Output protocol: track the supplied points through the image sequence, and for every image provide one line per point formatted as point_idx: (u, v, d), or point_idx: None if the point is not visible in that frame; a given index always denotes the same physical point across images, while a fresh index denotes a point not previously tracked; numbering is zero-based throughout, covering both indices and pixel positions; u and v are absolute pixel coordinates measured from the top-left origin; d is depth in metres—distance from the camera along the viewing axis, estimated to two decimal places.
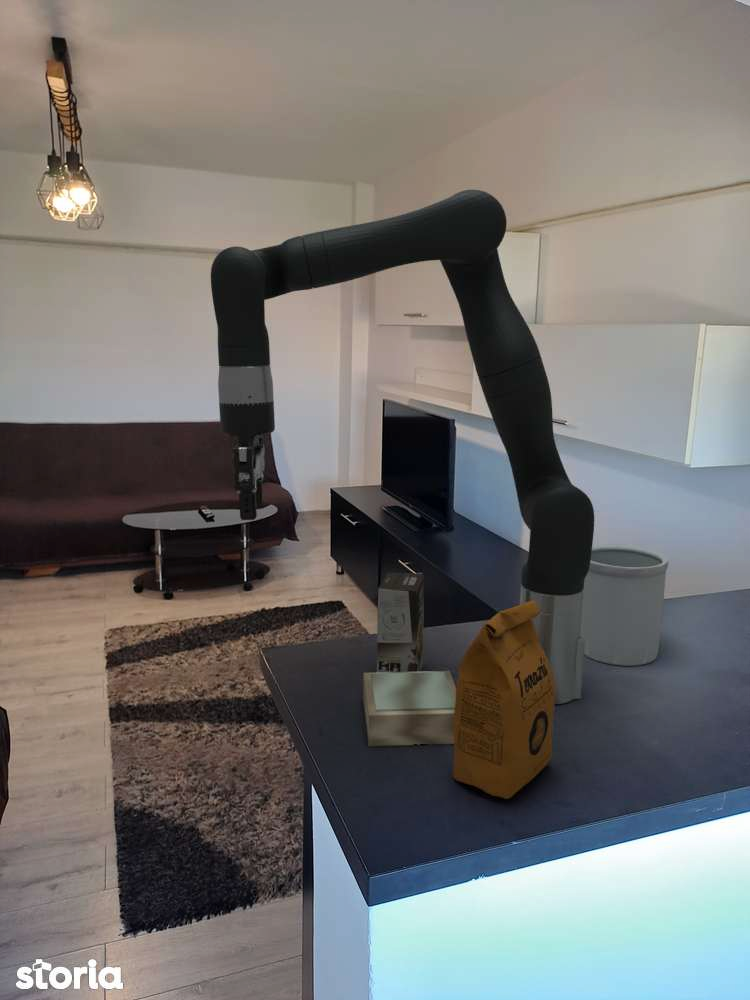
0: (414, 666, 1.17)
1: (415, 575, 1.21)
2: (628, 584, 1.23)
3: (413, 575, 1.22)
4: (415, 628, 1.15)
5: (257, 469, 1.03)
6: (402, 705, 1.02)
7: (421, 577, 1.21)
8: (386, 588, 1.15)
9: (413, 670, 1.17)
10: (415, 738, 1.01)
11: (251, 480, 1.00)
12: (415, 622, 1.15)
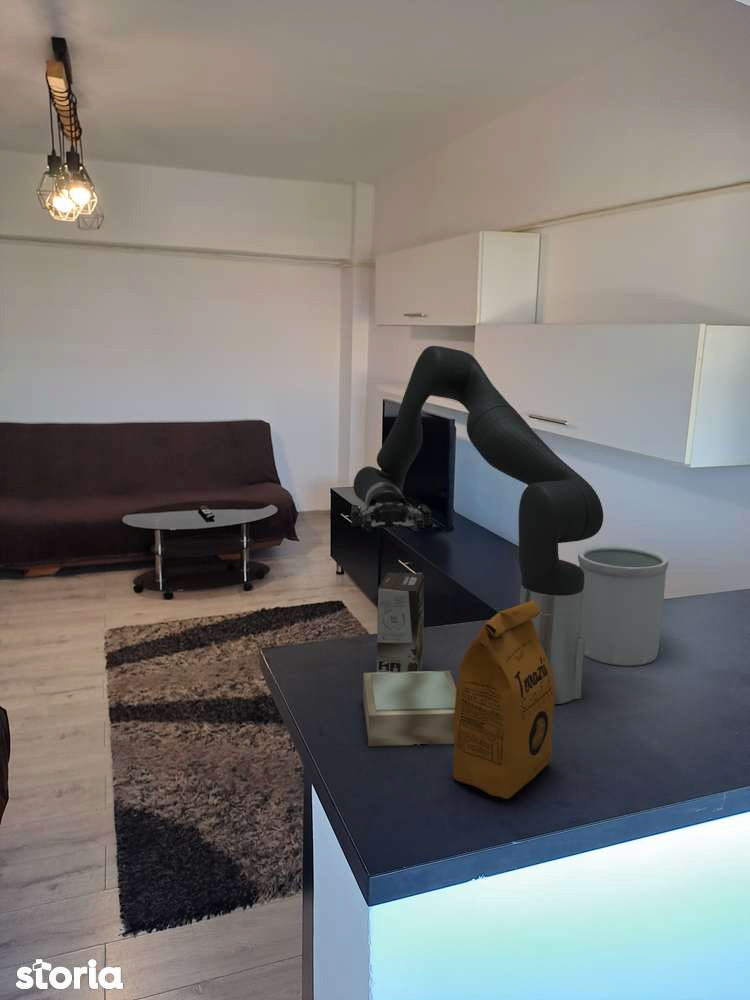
0: (414, 666, 1.17)
1: (415, 575, 1.21)
2: (628, 584, 1.23)
3: (413, 575, 1.22)
4: (415, 628, 1.15)
5: None
6: (402, 705, 1.02)
7: (421, 577, 1.21)
8: (386, 588, 1.15)
9: (413, 670, 1.17)
10: (415, 738, 1.01)
11: (351, 512, 1.34)
12: (415, 622, 1.15)
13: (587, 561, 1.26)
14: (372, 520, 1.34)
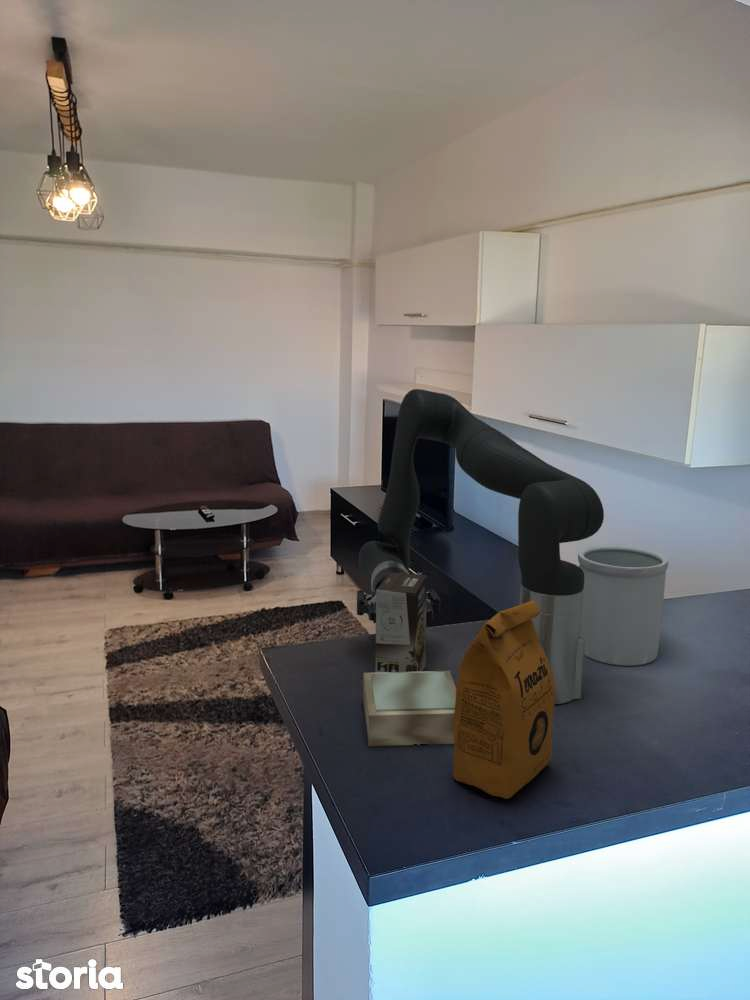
0: (412, 668, 1.16)
1: (417, 576, 1.20)
2: (628, 584, 1.23)
3: (415, 576, 1.20)
4: (413, 630, 1.14)
5: None
6: (402, 705, 1.02)
7: (423, 578, 1.19)
8: (384, 589, 1.14)
9: None
10: (415, 738, 1.01)
11: (357, 600, 1.27)
12: (413, 624, 1.14)
13: (587, 561, 1.26)
14: None
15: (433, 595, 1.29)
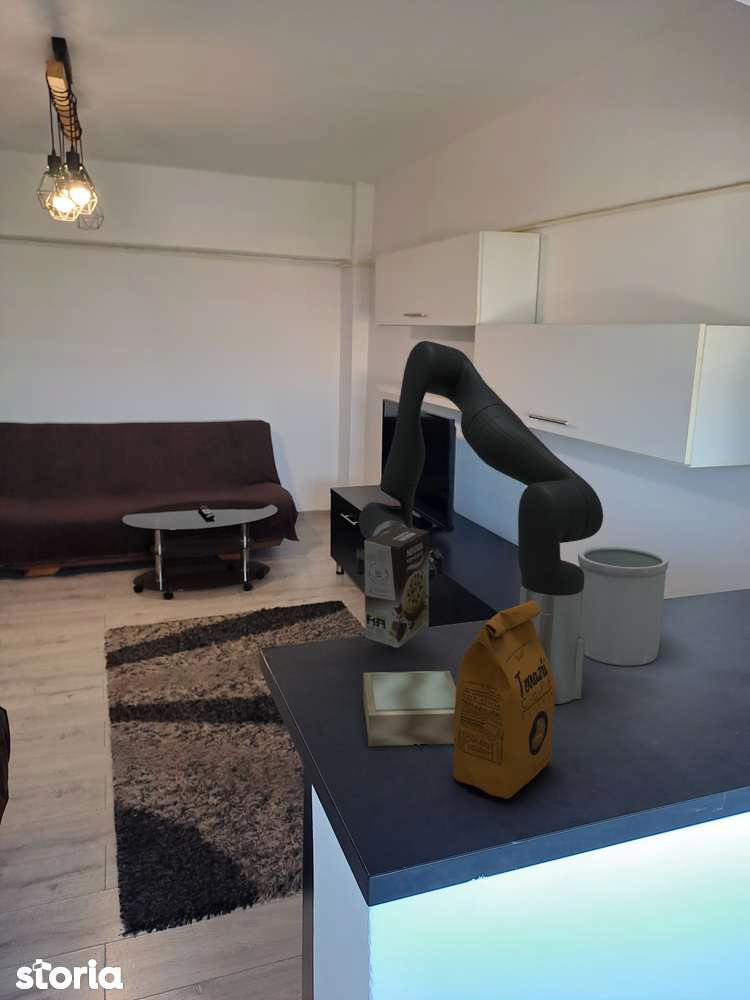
0: (398, 625, 1.11)
1: (418, 531, 1.14)
2: (628, 584, 1.23)
3: (416, 530, 1.14)
4: (398, 586, 1.09)
5: None
6: (402, 705, 1.02)
7: (421, 534, 1.13)
8: (372, 541, 1.10)
9: (397, 629, 1.11)
10: (415, 738, 1.01)
11: (356, 558, 1.21)
12: (397, 580, 1.09)
13: (587, 561, 1.26)
14: None
15: (436, 554, 1.23)
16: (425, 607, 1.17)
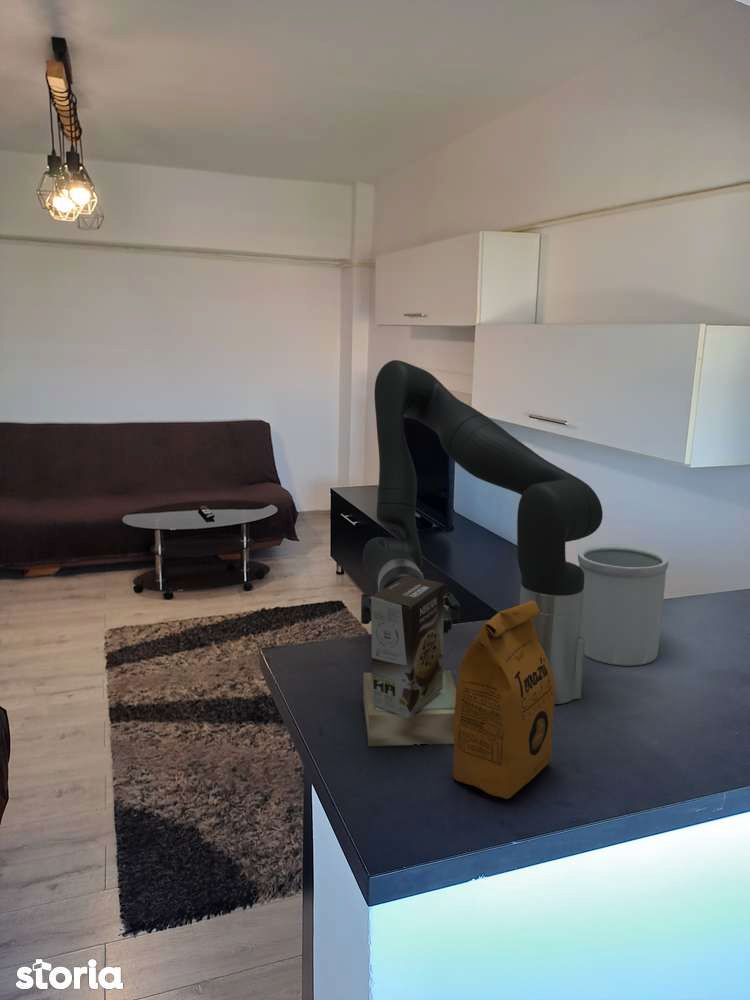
0: (410, 693, 0.98)
1: (431, 584, 1.01)
2: (628, 584, 1.23)
3: (429, 583, 1.01)
4: (410, 649, 0.96)
5: None
6: None
7: (435, 587, 0.99)
8: (380, 598, 0.97)
9: (408, 697, 0.98)
10: (415, 738, 1.01)
11: (361, 605, 1.07)
12: (409, 642, 0.95)
13: (587, 561, 1.26)
14: None
15: (451, 600, 1.09)
16: (439, 668, 1.03)
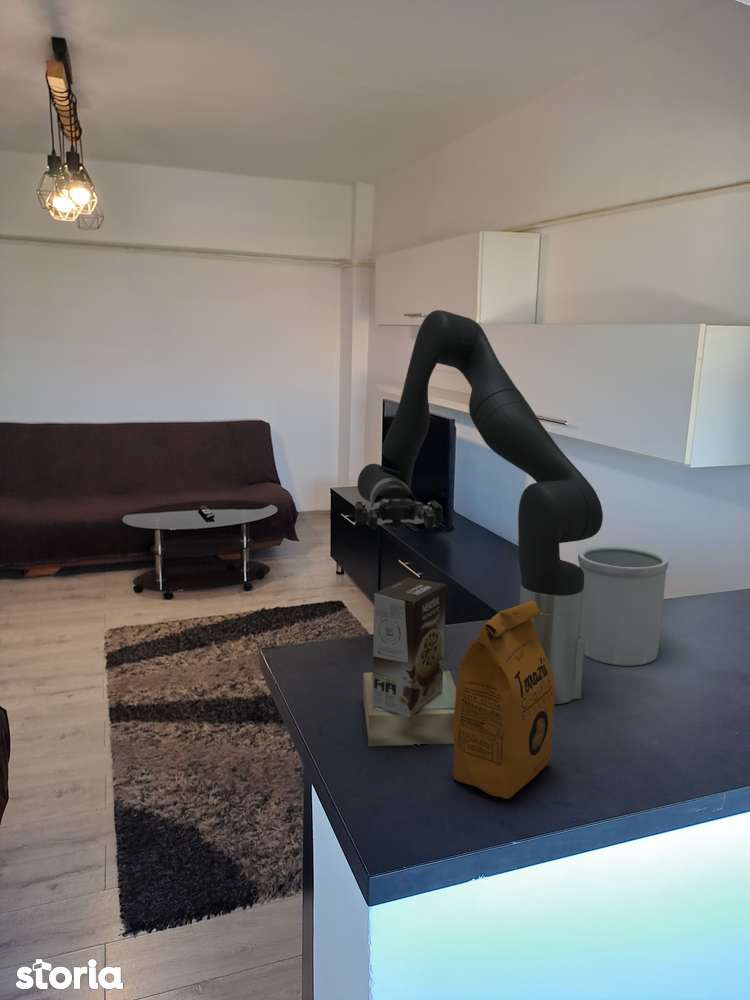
0: (410, 691, 0.98)
1: (433, 584, 1.02)
2: (628, 584, 1.23)
3: (431, 584, 1.02)
4: (412, 646, 0.97)
5: None
6: None
7: (437, 587, 1.01)
8: (383, 594, 0.98)
9: (409, 695, 0.98)
10: (415, 738, 1.01)
11: (355, 508, 1.22)
12: (411, 639, 0.96)
13: (587, 561, 1.26)
14: (378, 517, 1.22)
15: (435, 504, 1.24)
16: (439, 670, 1.04)
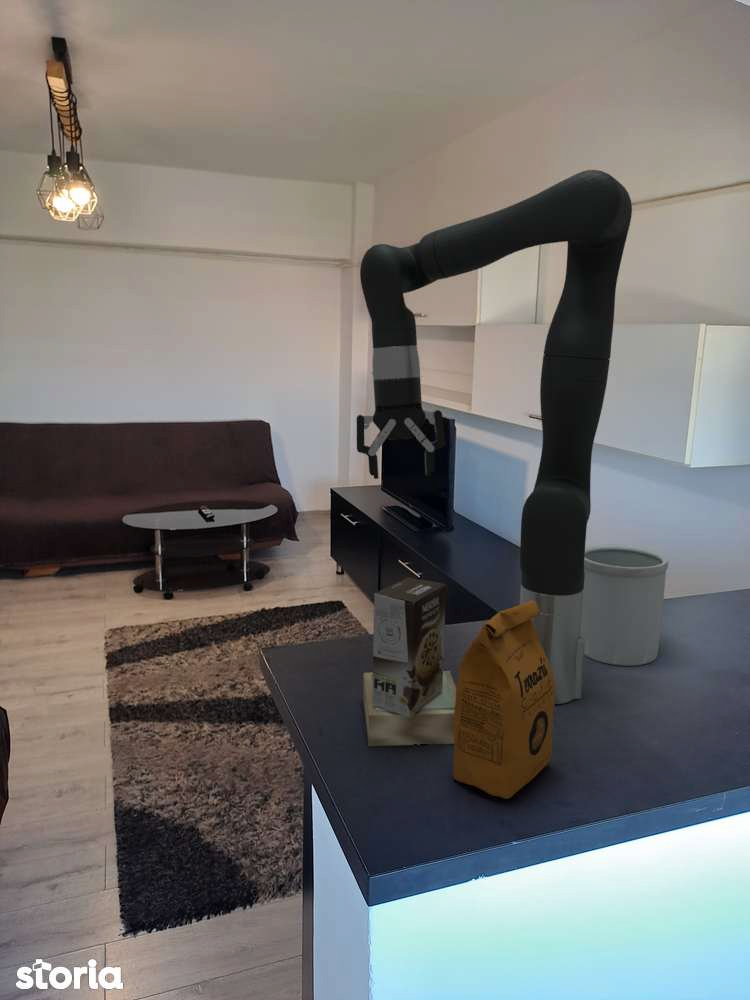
0: (410, 691, 0.98)
1: (433, 584, 1.02)
2: (628, 584, 1.23)
3: (431, 584, 1.02)
4: (412, 646, 0.97)
5: (378, 436, 1.20)
6: None
7: (437, 587, 1.01)
8: (383, 594, 0.98)
9: (409, 695, 0.98)
10: (415, 738, 1.01)
11: (357, 443, 1.20)
12: (411, 639, 0.96)
13: (587, 561, 1.26)
14: None
15: (439, 432, 1.20)
16: (439, 670, 1.04)
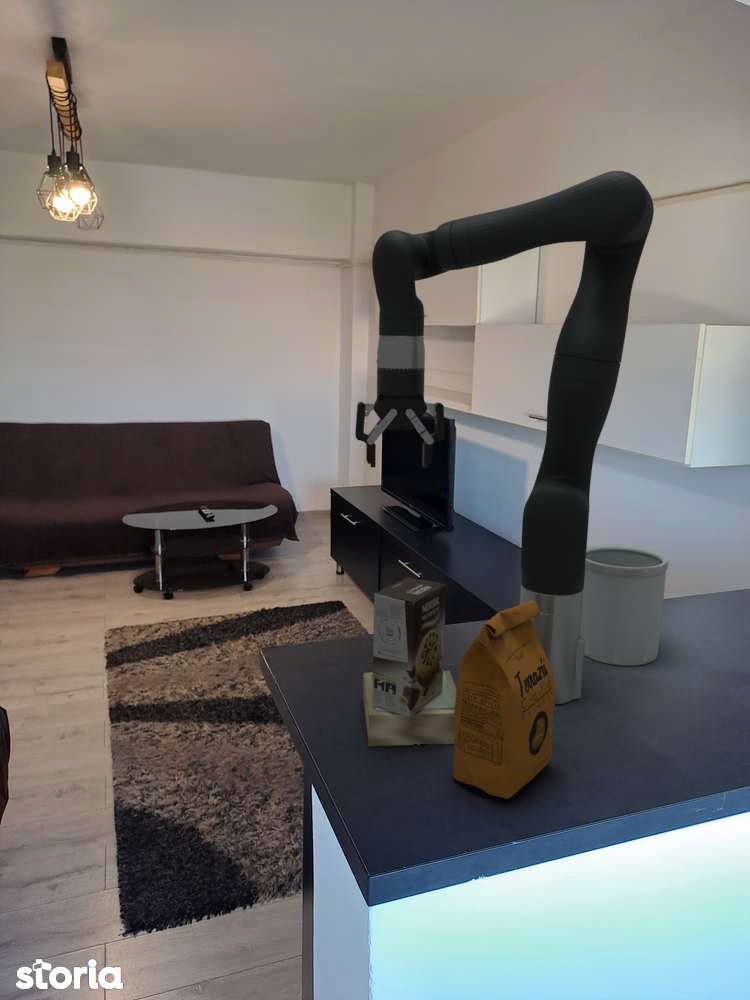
0: (410, 691, 0.98)
1: (433, 584, 1.02)
2: (628, 584, 1.23)
3: (432, 584, 1.02)
4: (412, 646, 0.97)
5: (378, 425, 1.19)
6: None
7: (437, 587, 1.01)
8: (383, 594, 0.98)
9: (409, 695, 0.98)
10: (415, 738, 1.01)
11: (356, 431, 1.19)
12: (411, 639, 0.96)
13: (587, 561, 1.26)
14: None
15: (439, 425, 1.20)
16: (439, 670, 1.04)
